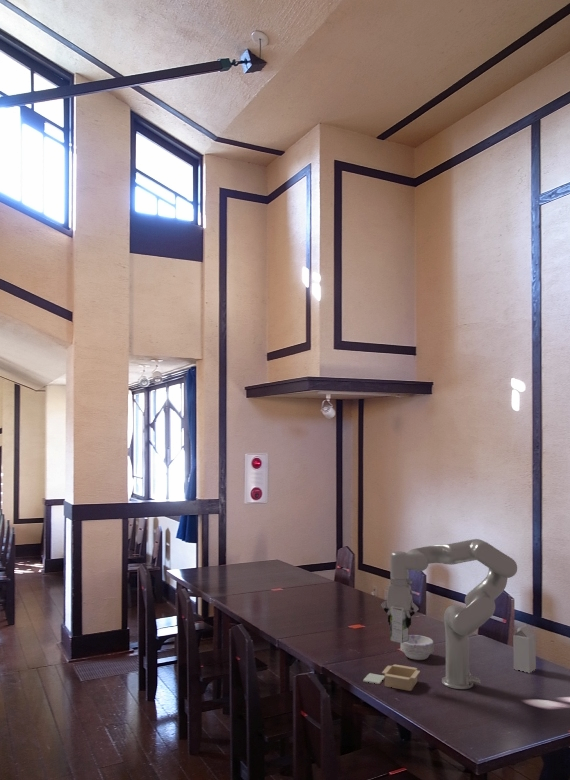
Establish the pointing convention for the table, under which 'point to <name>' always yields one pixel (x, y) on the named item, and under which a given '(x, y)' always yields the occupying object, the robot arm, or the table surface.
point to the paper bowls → (418, 647)
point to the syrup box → (398, 625)
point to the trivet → (374, 678)
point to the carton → (400, 677)
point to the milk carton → (524, 650)
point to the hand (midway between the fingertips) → (399, 625)
